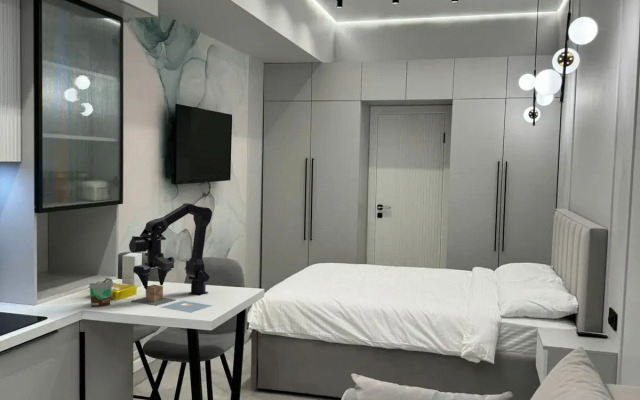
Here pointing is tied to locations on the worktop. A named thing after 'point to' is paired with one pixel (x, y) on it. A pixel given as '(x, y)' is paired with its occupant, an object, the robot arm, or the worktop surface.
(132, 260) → the skincare box
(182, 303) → the card
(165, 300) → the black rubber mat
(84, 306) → the worktop surface
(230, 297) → the worktop surface
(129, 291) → the element tile
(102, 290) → the food container
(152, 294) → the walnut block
